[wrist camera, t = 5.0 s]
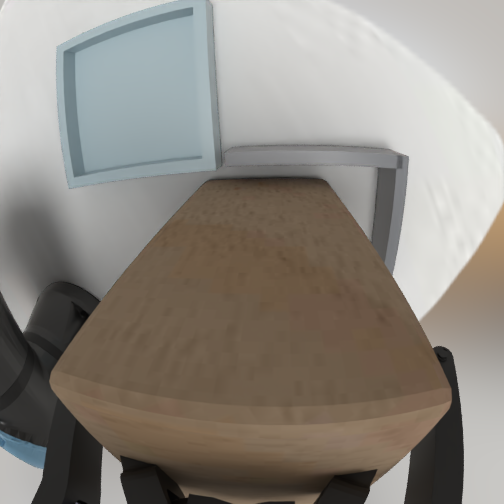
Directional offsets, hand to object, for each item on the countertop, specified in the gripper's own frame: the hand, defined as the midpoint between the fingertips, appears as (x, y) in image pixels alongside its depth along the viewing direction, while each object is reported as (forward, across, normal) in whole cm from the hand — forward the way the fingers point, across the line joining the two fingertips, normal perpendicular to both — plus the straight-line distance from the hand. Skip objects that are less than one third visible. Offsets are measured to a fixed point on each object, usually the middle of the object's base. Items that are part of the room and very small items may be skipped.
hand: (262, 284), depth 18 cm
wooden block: (+8, 0, 0) cm, 8 cm away
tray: (+9, -11, +14) cm, 20 cm away
